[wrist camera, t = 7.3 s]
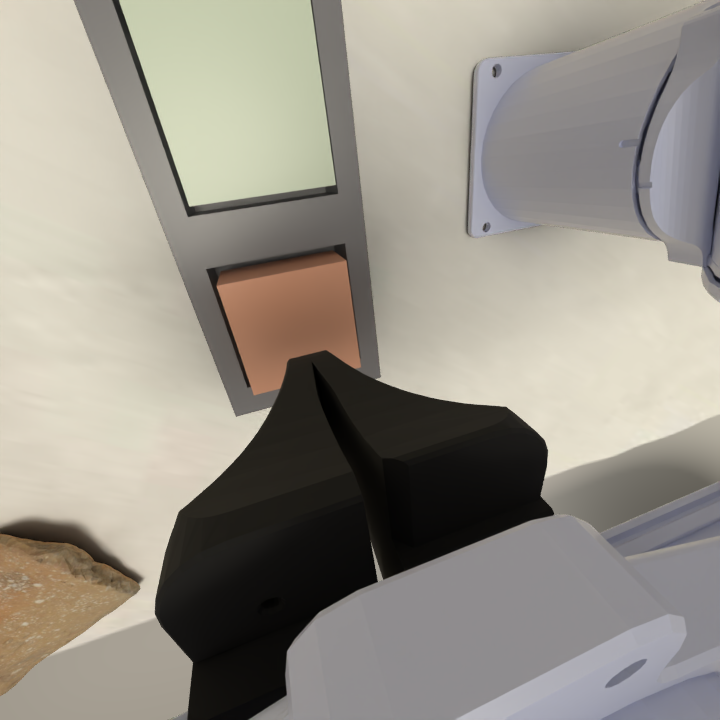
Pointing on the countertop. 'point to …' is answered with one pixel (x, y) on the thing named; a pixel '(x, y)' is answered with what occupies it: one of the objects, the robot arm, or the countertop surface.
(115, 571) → the stone
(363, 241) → the button panel
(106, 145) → the countertop surface
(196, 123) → the cap sage
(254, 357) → the cap terracotta
